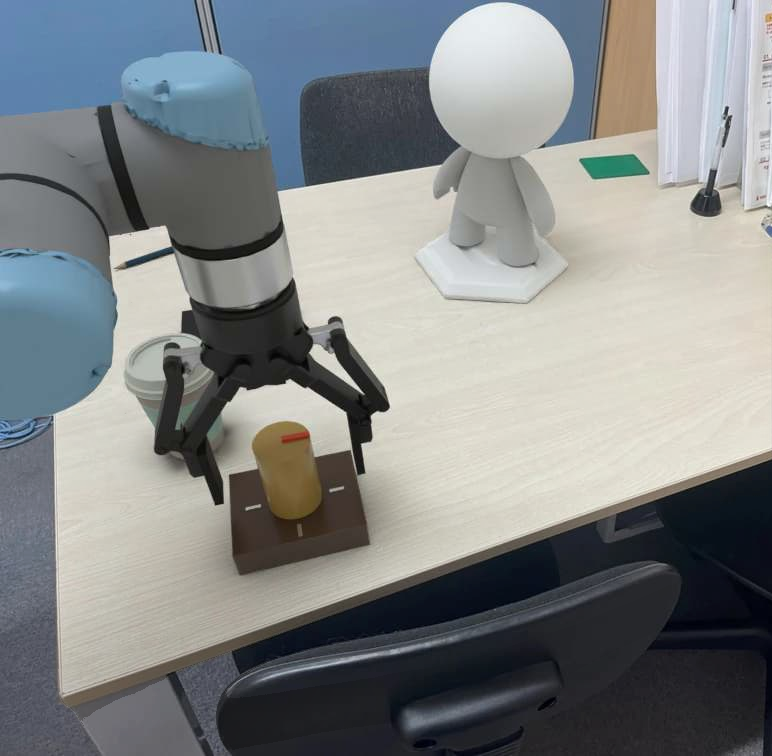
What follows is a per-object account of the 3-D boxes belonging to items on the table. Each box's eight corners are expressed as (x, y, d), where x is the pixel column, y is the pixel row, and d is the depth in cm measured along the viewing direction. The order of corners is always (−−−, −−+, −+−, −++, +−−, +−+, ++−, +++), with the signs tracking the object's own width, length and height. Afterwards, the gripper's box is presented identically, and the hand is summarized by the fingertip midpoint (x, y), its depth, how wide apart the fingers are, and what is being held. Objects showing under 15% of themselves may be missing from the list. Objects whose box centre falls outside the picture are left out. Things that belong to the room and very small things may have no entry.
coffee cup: (224, 403, 82) (198, 320, 74) (247, 450, 77) (222, 365, 69) (146, 430, 78) (110, 345, 70) (165, 482, 73) (128, 396, 65)
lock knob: (270, 525, 66) (252, 464, 60) (266, 485, 69) (249, 424, 64) (325, 512, 67) (312, 452, 61) (319, 474, 70) (306, 414, 65)
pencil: (215, 239, 109) (115, 273, 101) (212, 237, 110) (112, 270, 102) (214, 234, 109) (113, 267, 101) (211, 232, 109) (110, 264, 101)
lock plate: (239, 575, 65) (231, 555, 63) (235, 493, 72) (228, 473, 70) (370, 544, 68) (367, 524, 66) (353, 468, 75) (350, 448, 73)
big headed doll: (586, 251, 110) (616, 2, 87) (504, 323, 95) (515, 47, 72) (480, 214, 118) (482, -23, 95) (389, 275, 103) (366, 12, 80)
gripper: (395, 237, 58) (410, 425, 72) (65, 280, 52) (152, 476, 66) (415, 287, 52) (427, 479, 66) (49, 342, 46) (148, 541, 60)
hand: (291, 478), depth 66 cm, fingers open, 12 cm apart
